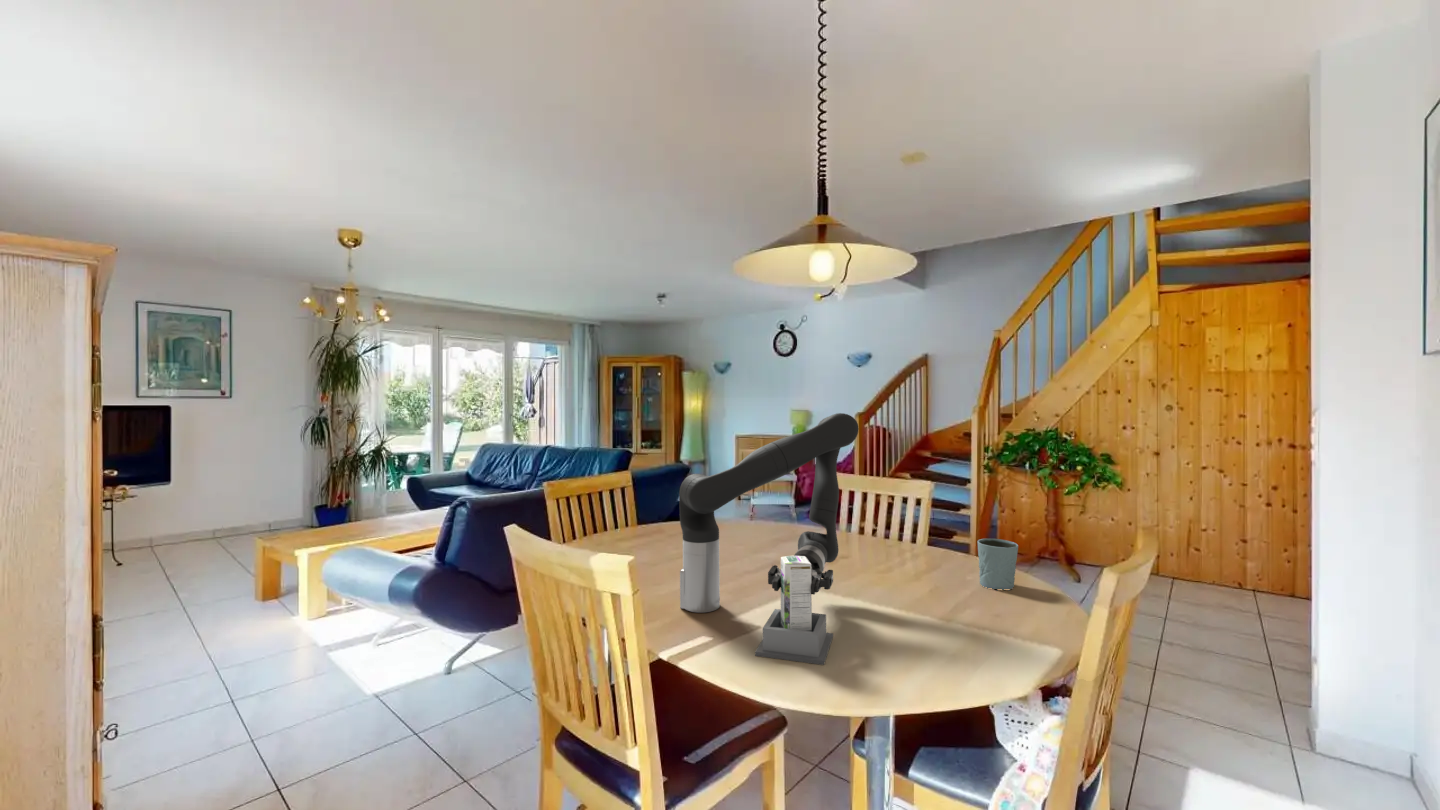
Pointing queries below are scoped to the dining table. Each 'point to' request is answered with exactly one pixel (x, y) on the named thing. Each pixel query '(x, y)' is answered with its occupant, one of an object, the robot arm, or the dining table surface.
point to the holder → (795, 640)
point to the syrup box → (796, 593)
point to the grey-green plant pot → (997, 563)
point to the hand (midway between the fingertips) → (794, 588)
